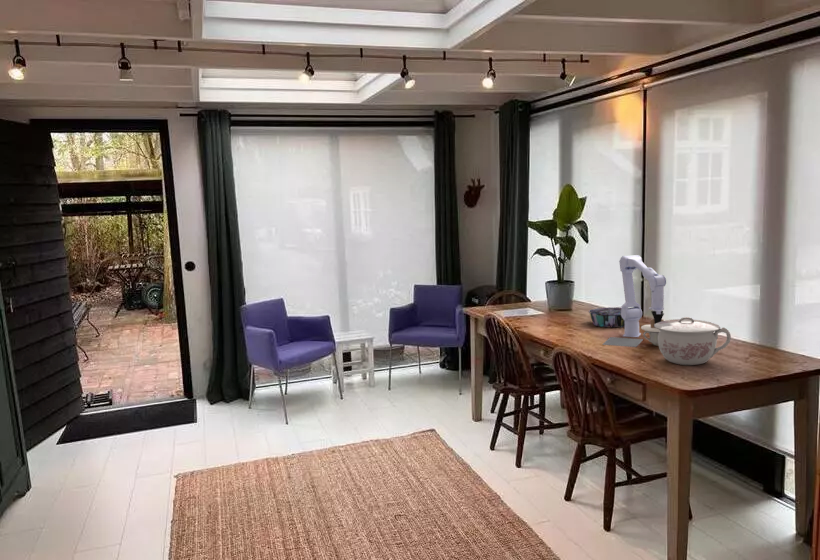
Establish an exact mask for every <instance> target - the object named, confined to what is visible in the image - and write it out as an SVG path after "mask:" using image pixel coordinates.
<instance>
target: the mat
mask: <svg viewBox="0 0 820 560" xmlns="http://www.w3.org/2000/svg"><path fill="white" fill-rule="evenodd" d="M643 340H644V339H643V338H633V337H631V338H630V337H616V336H615V337H614V336H610V337H609V338H608V339H606V340H605V341H604V342H603V343H602V345H603V346H616V347H629V348H637V347H638V346H639V345H640V344H641V343H642V342H643Z"/></svg>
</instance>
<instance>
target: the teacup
mask: <svg viewBox="0 0 820 560" xmlns="http://www.w3.org/2000/svg"><path fill="white" fill-rule="evenodd" d="M658 333H659V332H650V331H645V330H644V332H643V334H642V336H643V338H644V339H646V340H647V341H648V342H649V343H651V344H652V345H653V346H657V347H659V345H658V341H657V335H658ZM646 334H648V335H649V337H647V336H646Z"/></svg>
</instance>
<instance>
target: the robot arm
mask: <svg viewBox="0 0 820 560" xmlns="http://www.w3.org/2000/svg"><path fill="white" fill-rule="evenodd" d="M618 262H619V270H620V271H619V272H621V274H622V275H621V276H622V283H623V292H624V300H625V302H624V303H623V304H622V305H621V306H620V308H621V316H622V318H623V320H625V327H624V333H623V335H622V337H624V338H630V337H631V338H639V337H641V334H642V333H641V332H640V322H639V321H640V320H641V318H642V316H643V311H642V309H641V308H642V307H641V304H640V303H638V302H637V301H636V300H637V299H636V294H635V293H636V292H635V285H634V278H633V277H634V276H633V273H634V272H635V271H636V270H639V272H641V273H642V276H643V278H645V279H646V280H647V281H648V285H649V289H650V291H651V293H650V294H651V299H650V300H651V304H650V305H651V306H650V307H648V310H651V312H650V313H651V315H652V317H653V319H654V321H655V324H656V323H658V322H661V320H662V319H663V317H664V315H665V313H664V310H665V305H664V303H665V301H664V299H665V298H664V296H665V295H664V294H665V293H664V287H665V286H666V284H667V279H666V277H665V275H663V274H659V273H657V271H655V269H653V268H652V267H649V266H648V267H647V265H646V264H645V263H644V262H643V258H642V257H641V256H640V255H639V254H636V255H635V254H634V255H622V256H621V257H620V258H619V261H618Z"/></svg>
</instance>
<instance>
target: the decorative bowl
mask: <svg viewBox="0 0 820 560" xmlns="http://www.w3.org/2000/svg"><path fill="white" fill-rule="evenodd" d="M588 313H589V316H590V319H591V322H592V324H593V325H594V326H595V327H600V328H625V320H623V318H622V316H621V306H620V307H618V306H617V307H616V306H615V307H609V306H608V307H597V308H593V309H590V310H588Z"/></svg>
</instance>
